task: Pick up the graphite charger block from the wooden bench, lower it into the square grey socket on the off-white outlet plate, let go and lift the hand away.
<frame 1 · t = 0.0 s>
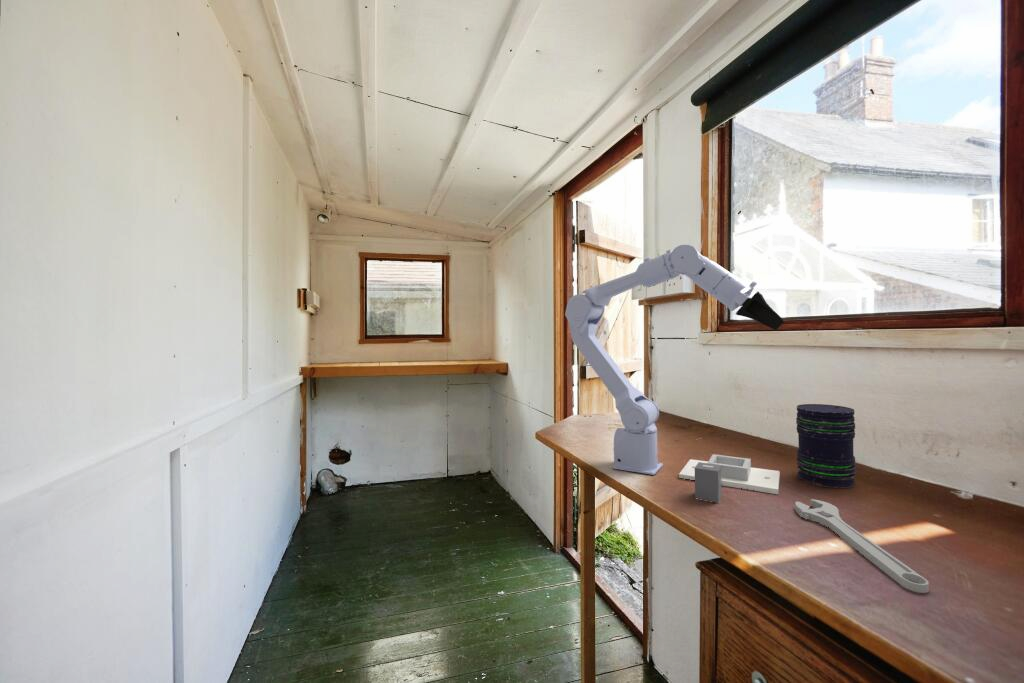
hand: (780, 325, 82), 32 cm above the table, tool tilted 50°, fingers open, 7 cm apart
outlet plate: (729, 477, 91), on the table
dark blue barrel: (825, 480, 88), on the table
adjustable wrench: (846, 543, 63), on the table
charger: (708, 497, 80), on the table
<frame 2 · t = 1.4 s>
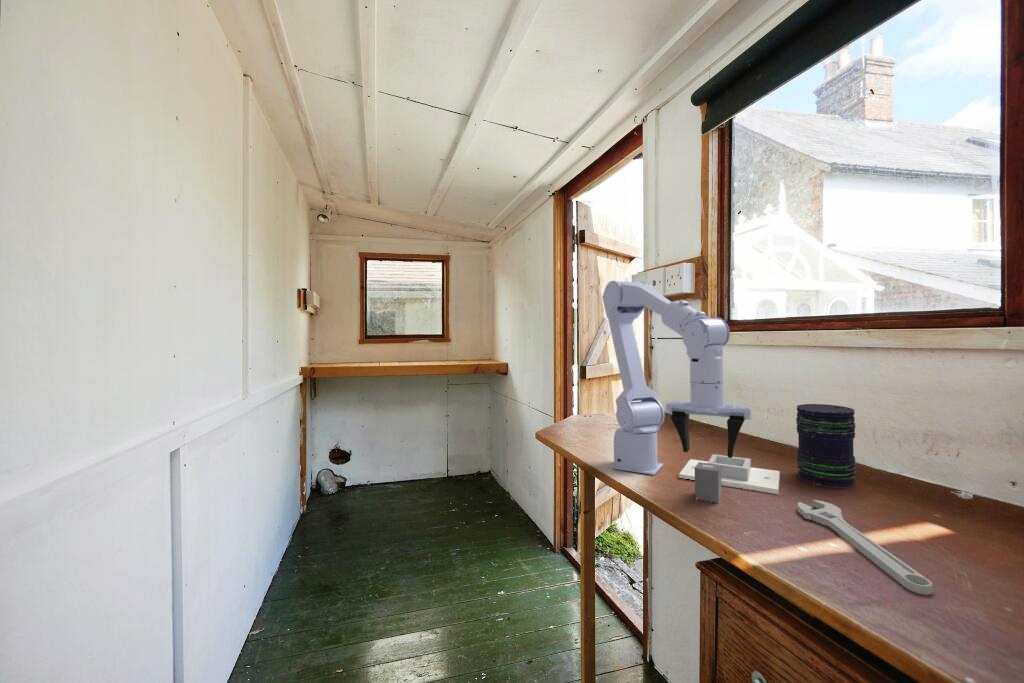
hand: (707, 453, 80), 8 cm above the table, tool pointing down, fingers open, 7 cm apart
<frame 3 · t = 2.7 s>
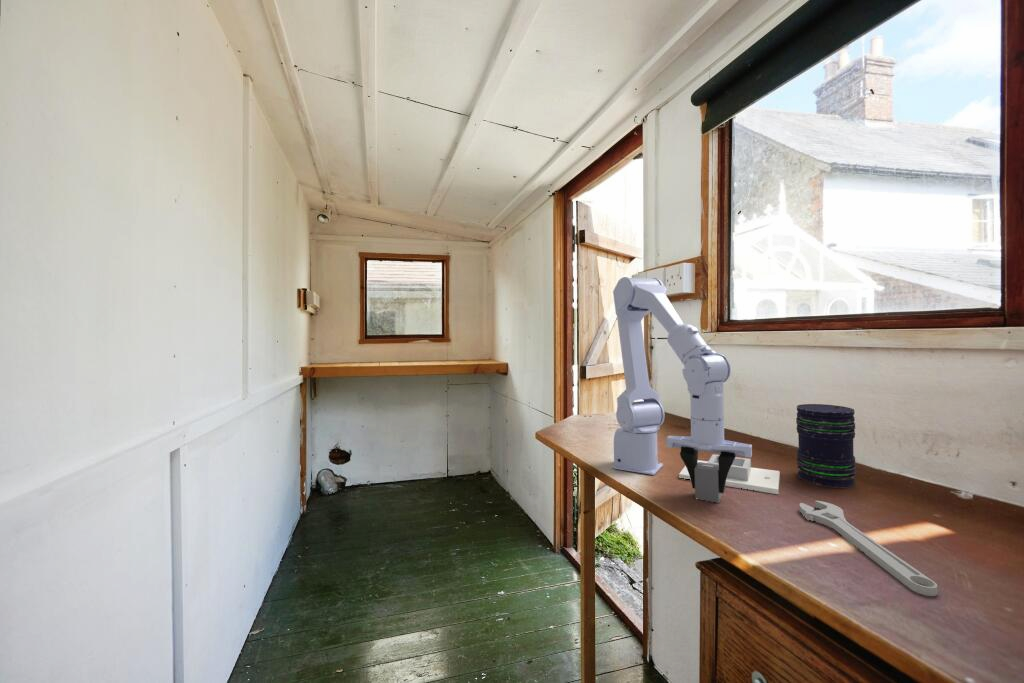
hand: (708, 489, 80), 2 cm above the table, tool pointing down, fingers closed on charger, 4 cm apart
charger: (708, 497, 80), on the table, touching gripper
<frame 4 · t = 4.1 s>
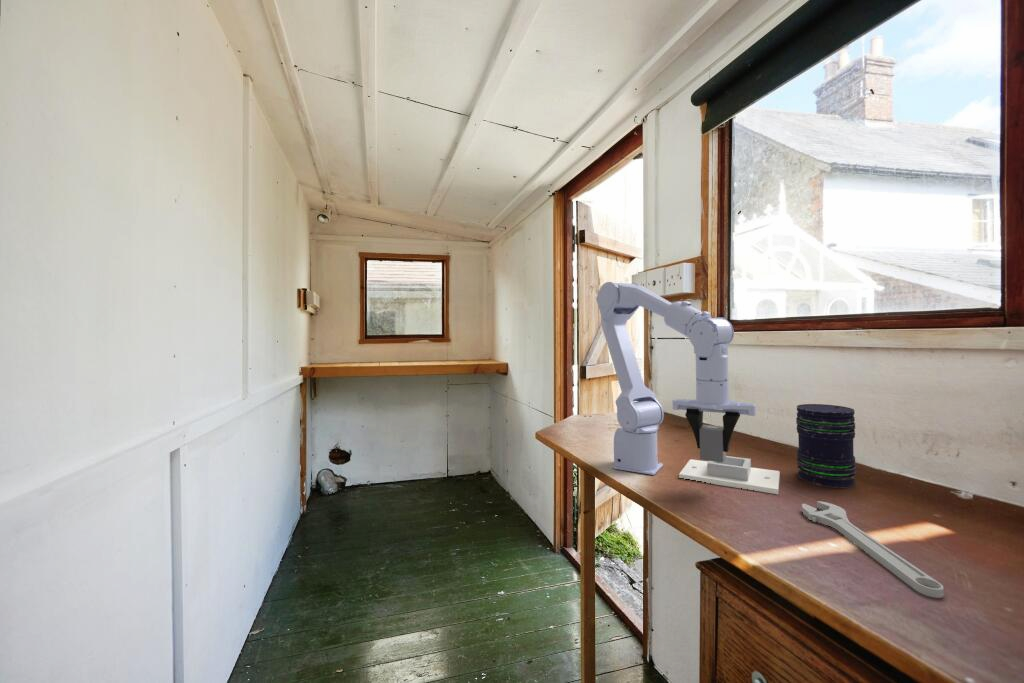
hand: (713, 448, 82), 9 cm above the table, tool pointing down, fingers closed on charger, 4 cm apart
charger: (713, 458, 82), point 7 cm above the table, touching gripper
when the fingers open (4 cm above the table, at t = 5.9 s): charger drops 2 cm, resting on outlet plate.
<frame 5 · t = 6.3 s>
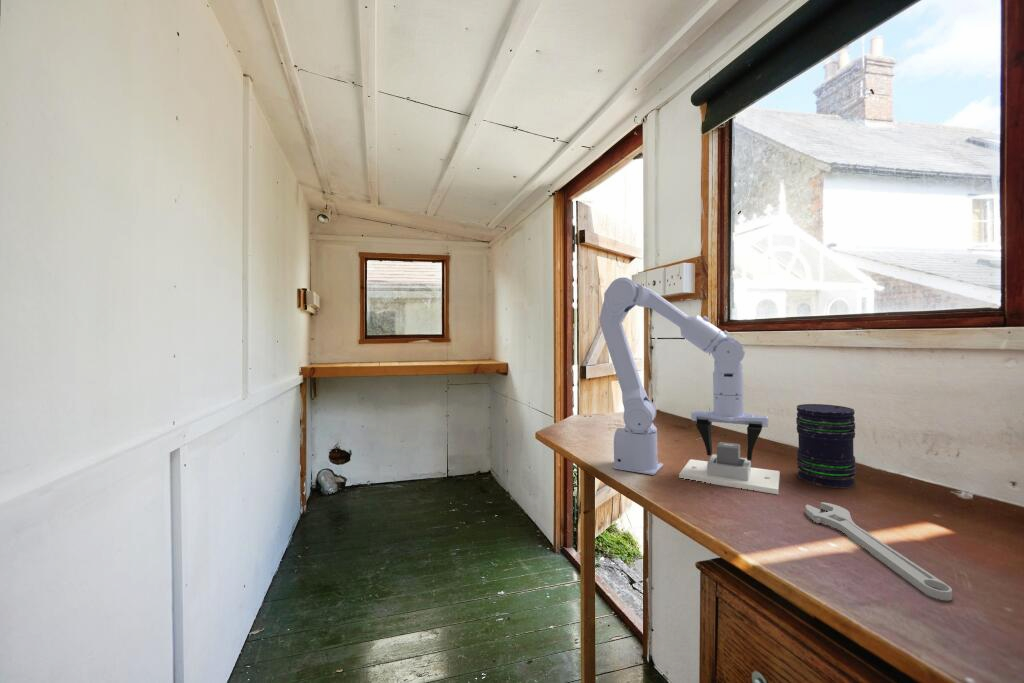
hand: (729, 456, 90), 4 cm above the table, tool pointing down, fingers open, 7 cm apart
charger: (728, 473, 90), point 1 cm above the table, touching outlet plate
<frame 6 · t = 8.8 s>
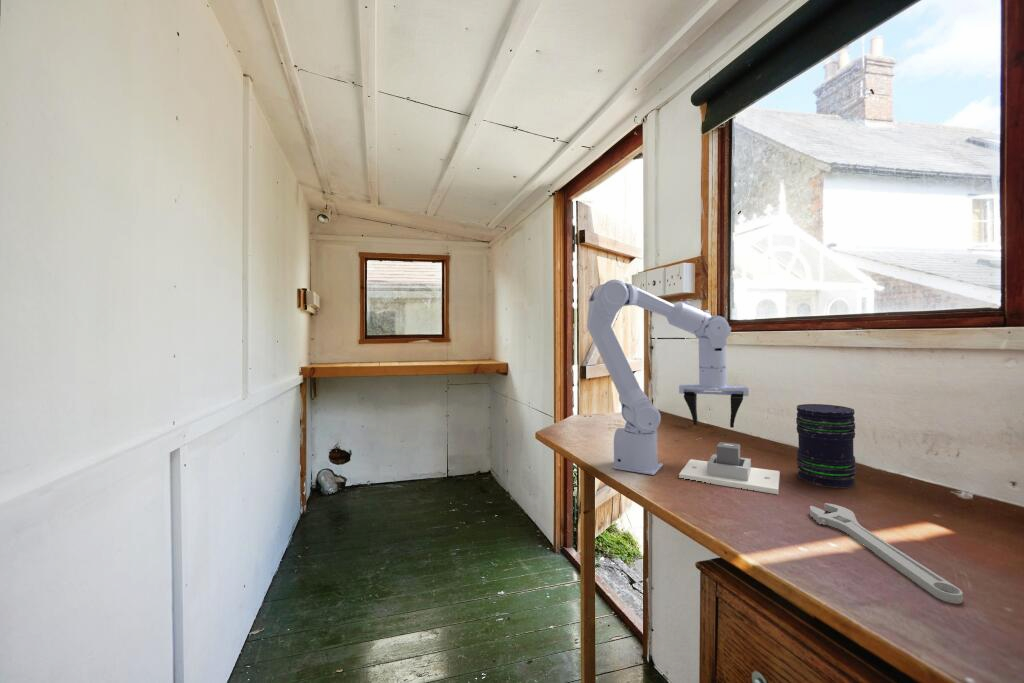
hand: (713, 425, 98), 9 cm above the table, tool pointing down, fingers open, 7 cm apart
at the end: charger 0.4 cm off-centre on the outlet plate, point 1.0 cm above the outlet plate's base; charger tilted 0°; the gripper is holding nothing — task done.
